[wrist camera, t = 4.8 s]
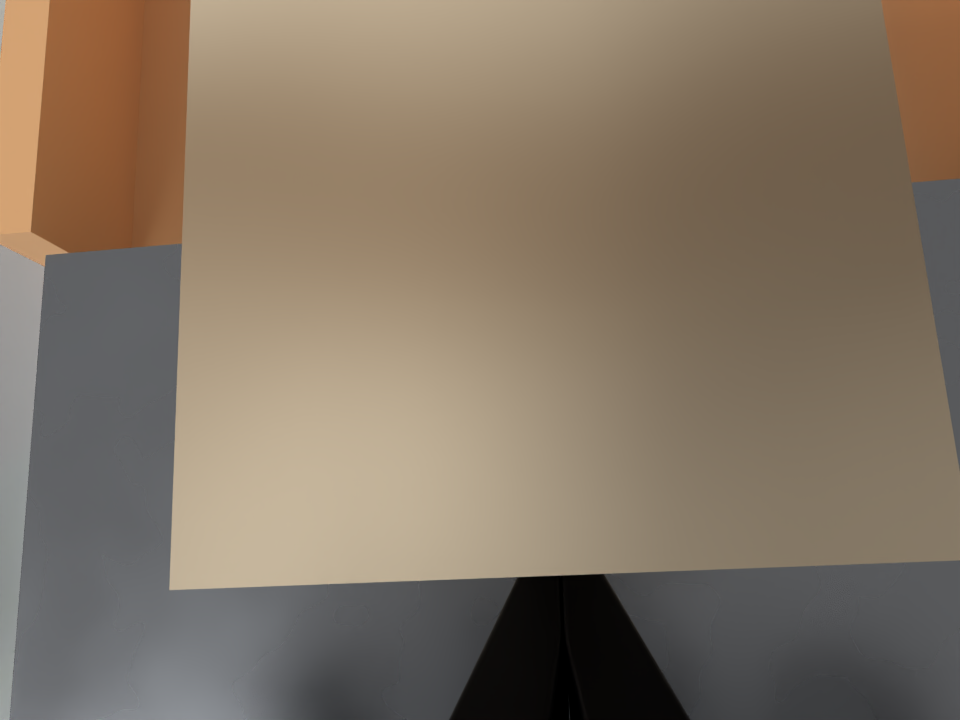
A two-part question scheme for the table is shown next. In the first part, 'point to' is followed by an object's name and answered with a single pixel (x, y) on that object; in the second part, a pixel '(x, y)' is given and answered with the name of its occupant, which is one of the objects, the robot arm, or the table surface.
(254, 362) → the beech block
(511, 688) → the robot arm
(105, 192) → the box
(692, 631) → the slate plate
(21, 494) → the table surface
